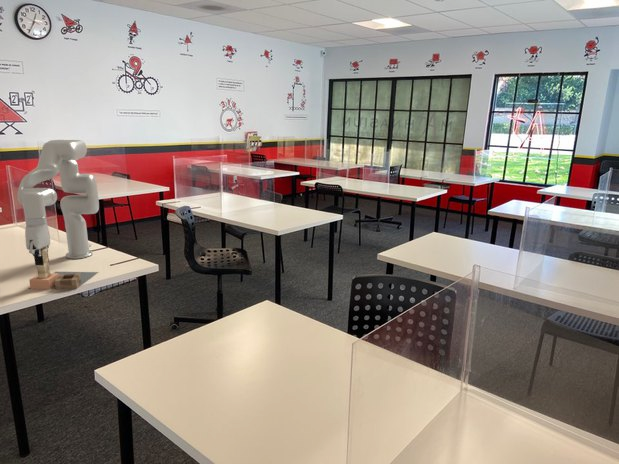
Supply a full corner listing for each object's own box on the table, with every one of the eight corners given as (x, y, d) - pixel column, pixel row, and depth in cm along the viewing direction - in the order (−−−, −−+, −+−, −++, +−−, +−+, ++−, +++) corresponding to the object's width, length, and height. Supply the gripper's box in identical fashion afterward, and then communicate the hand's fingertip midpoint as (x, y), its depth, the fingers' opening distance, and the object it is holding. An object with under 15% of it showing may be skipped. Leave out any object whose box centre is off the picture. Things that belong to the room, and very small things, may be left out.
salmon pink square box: (41, 281, 196) (40, 273, 195) (60, 282, 196) (58, 273, 195) (30, 288, 188) (29, 279, 187) (49, 289, 188) (48, 280, 187)
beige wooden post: (42, 275, 192) (38, 244, 189) (50, 275, 192) (46, 244, 189) (38, 278, 189) (33, 246, 185) (46, 278, 189) (41, 246, 185)
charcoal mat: (55, 272, 208) (55, 271, 208) (98, 273, 208) (98, 272, 208) (28, 289, 188) (28, 288, 188) (76, 290, 188) (75, 289, 188)
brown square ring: (61, 283, 194) (59, 274, 193) (81, 281, 196) (80, 273, 195) (56, 290, 187) (54, 281, 186) (77, 288, 189) (75, 279, 188)
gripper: (38, 216, 192) (44, 257, 197) (14, 225, 176) (21, 269, 181) (56, 217, 192) (61, 257, 197) (33, 226, 176) (39, 270, 181)
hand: (42, 263), depth 189 cm, fingers closed on beige wooden post, 3 cm apart
